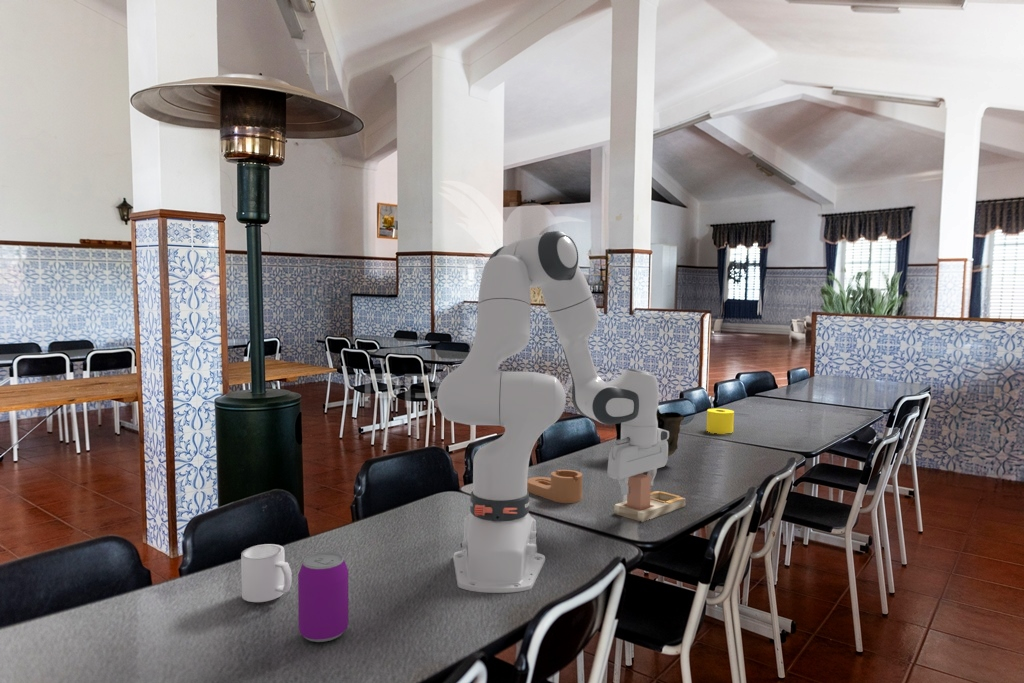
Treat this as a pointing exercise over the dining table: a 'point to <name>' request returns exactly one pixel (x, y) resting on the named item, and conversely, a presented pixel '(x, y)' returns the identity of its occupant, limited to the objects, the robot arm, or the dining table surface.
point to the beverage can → (323, 596)
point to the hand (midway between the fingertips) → (637, 490)
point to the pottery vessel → (664, 428)
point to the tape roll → (720, 421)
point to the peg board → (652, 506)
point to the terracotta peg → (639, 492)
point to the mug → (264, 573)
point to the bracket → (558, 486)
